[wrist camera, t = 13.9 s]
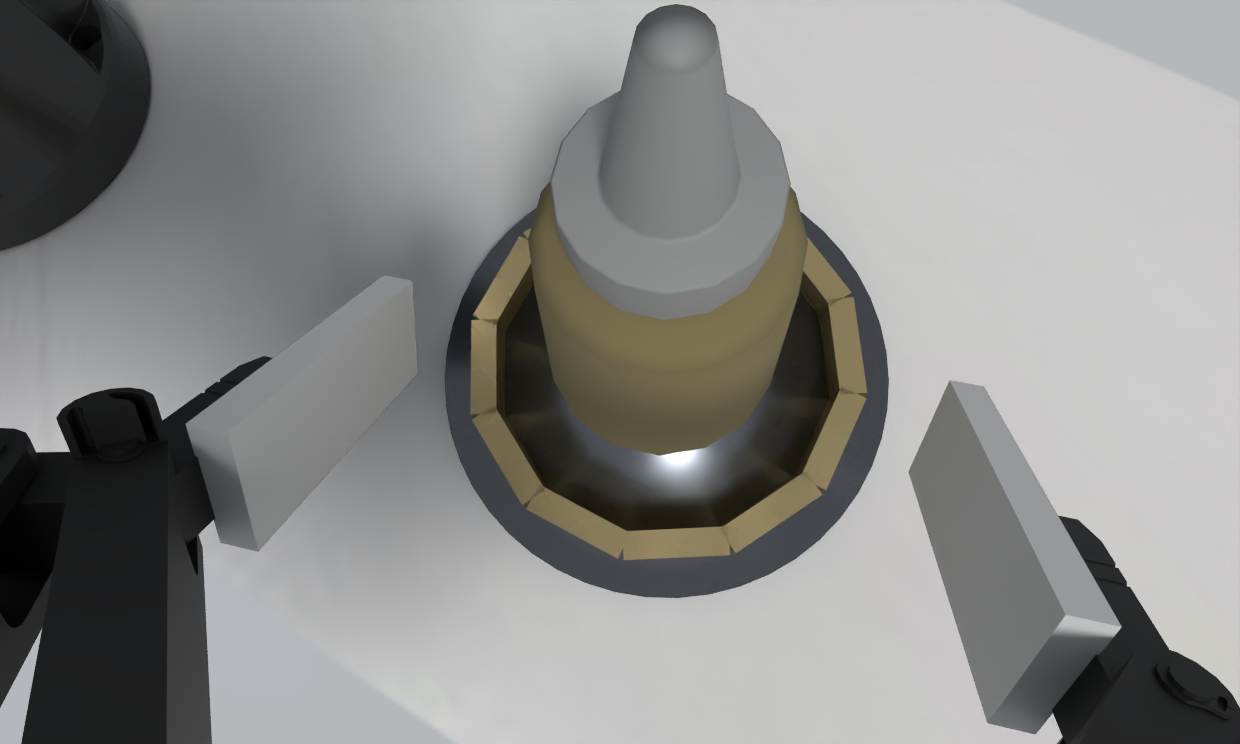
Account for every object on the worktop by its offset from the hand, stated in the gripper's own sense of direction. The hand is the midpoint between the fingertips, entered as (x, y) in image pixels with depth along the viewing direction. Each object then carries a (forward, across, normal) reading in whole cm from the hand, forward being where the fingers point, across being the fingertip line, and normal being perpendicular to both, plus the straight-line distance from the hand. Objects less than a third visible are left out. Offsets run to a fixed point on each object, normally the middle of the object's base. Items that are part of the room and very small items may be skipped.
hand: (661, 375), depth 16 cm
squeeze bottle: (+9, 0, -5) cm, 11 cm away
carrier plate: (+10, 0, -6) cm, 11 cm away
